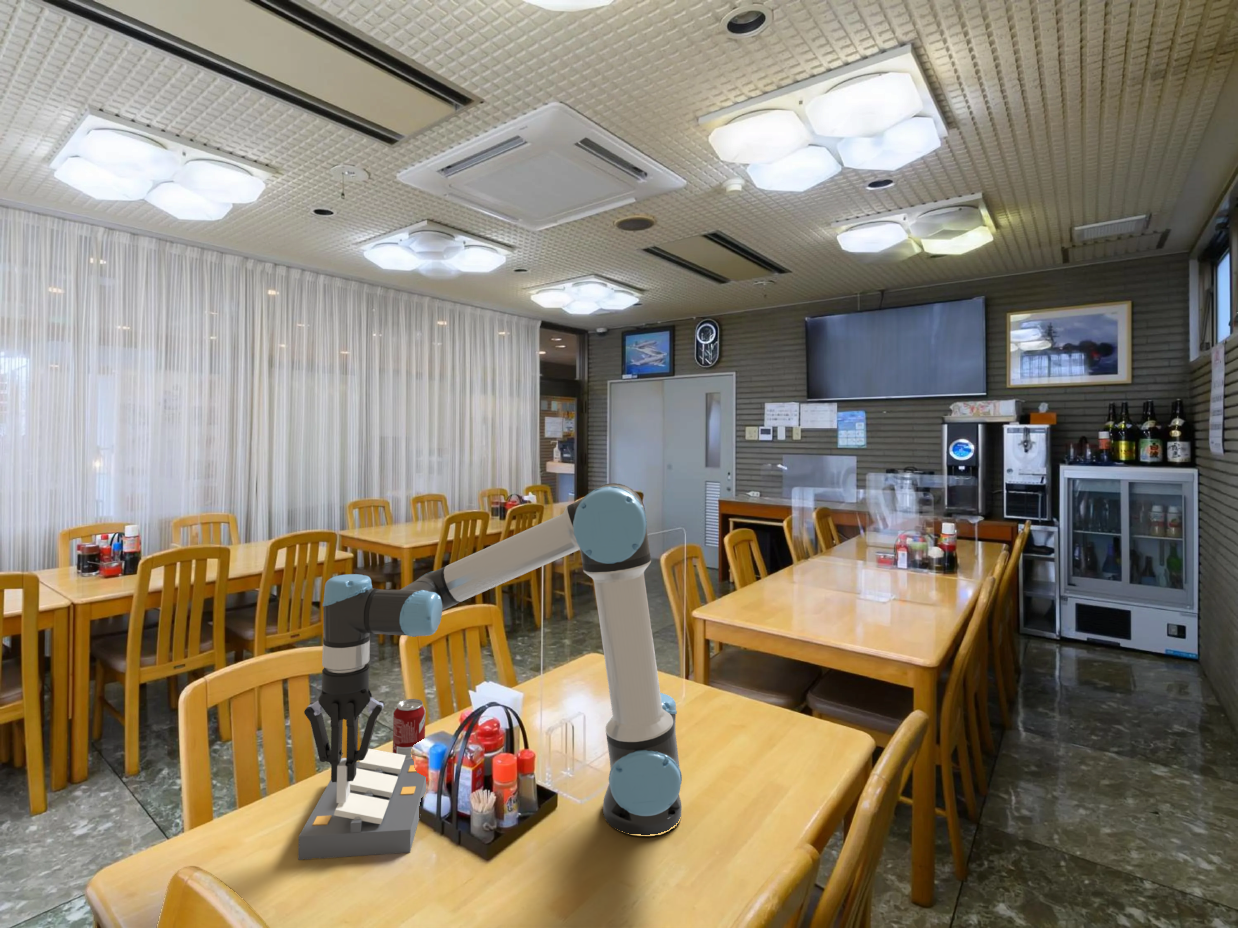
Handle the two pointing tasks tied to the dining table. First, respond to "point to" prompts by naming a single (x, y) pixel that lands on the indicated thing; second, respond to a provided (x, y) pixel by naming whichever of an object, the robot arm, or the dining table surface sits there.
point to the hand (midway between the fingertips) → (343, 798)
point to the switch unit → (360, 837)
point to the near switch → (363, 808)
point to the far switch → (383, 761)
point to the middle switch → (373, 783)
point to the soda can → (408, 726)
